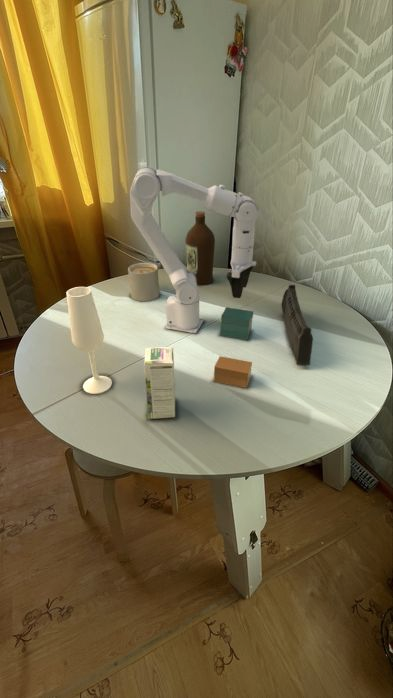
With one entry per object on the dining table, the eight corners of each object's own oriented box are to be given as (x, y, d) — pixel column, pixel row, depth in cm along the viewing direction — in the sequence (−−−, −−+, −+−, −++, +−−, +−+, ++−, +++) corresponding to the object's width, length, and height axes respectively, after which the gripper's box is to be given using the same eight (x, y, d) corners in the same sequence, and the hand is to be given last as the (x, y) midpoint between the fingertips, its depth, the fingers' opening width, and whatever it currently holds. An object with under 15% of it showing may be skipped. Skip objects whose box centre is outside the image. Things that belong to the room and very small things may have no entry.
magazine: (317, 344, 81) (301, 264, 100) (303, 344, 82) (290, 263, 100) (302, 385, 95) (290, 307, 114) (290, 385, 95) (280, 307, 114)
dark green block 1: (220, 329, 101) (220, 322, 99) (225, 320, 105) (225, 313, 104) (248, 333, 99) (248, 327, 97) (251, 324, 103) (252, 317, 102)
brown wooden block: (213, 381, 85) (214, 374, 83) (218, 370, 88) (219, 363, 87) (246, 388, 83) (247, 380, 81) (250, 376, 86) (251, 369, 85)
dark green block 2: (220, 335, 102) (220, 329, 101) (224, 326, 106) (225, 320, 105) (247, 340, 100) (248, 333, 99) (251, 331, 104) (251, 324, 103)
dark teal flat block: (221, 322, 99) (221, 315, 98) (225, 313, 104) (226, 307, 102) (249, 327, 97) (249, 320, 96) (252, 317, 102) (253, 311, 100)
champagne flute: (87, 375, 87) (67, 284, 73) (114, 375, 87) (99, 284, 73) (79, 393, 81) (55, 298, 68) (108, 394, 81) (90, 299, 68)
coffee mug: (159, 300, 121) (157, 272, 115) (130, 302, 120) (127, 274, 115) (159, 284, 132) (157, 258, 126) (132, 286, 131) (129, 259, 126)
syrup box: (149, 401, 79) (143, 347, 71) (175, 399, 79) (173, 346, 71) (148, 419, 74) (142, 364, 66) (176, 417, 75) (173, 362, 66)
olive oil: (203, 272, 142) (203, 207, 128) (219, 281, 134) (221, 213, 120) (180, 279, 137) (178, 211, 123) (196, 288, 129) (196, 217, 115)
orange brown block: (214, 374, 83) (214, 366, 82) (219, 363, 87) (219, 356, 86) (247, 380, 81) (248, 373, 80) (251, 369, 85) (252, 362, 84)
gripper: (252, 255, 88) (248, 304, 95) (262, 238, 99) (257, 283, 107) (225, 252, 90) (223, 301, 97) (237, 236, 101) (235, 281, 109)
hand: (239, 291), depth 102 cm, fingers open, 7 cm apart
